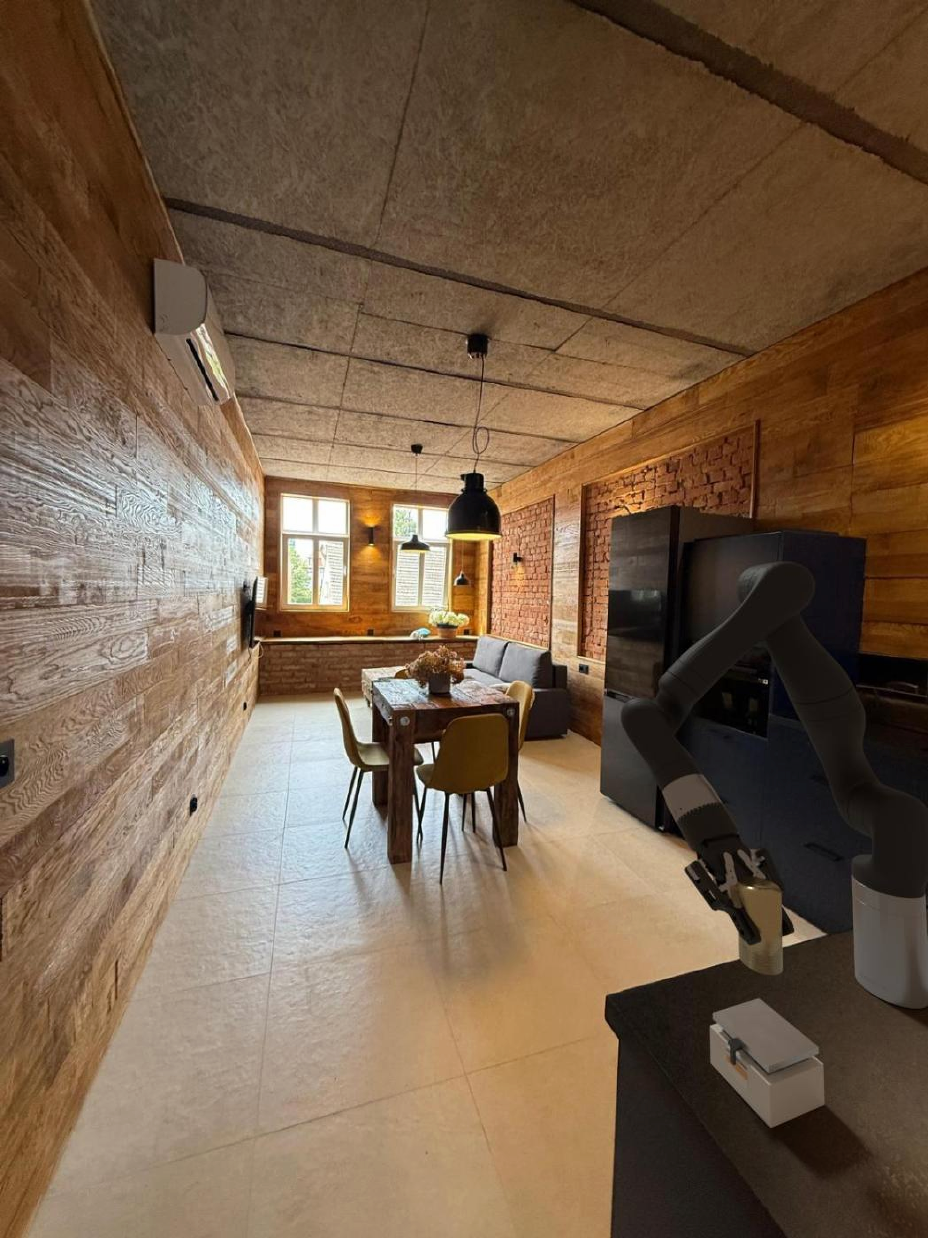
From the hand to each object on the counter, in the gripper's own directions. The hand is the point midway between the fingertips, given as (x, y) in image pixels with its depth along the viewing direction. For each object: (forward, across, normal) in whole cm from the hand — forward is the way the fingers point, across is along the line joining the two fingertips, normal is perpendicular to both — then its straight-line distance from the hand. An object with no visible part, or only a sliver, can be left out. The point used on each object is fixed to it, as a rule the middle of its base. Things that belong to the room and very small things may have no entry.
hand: (772, 938), depth 61 cm
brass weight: (+2, 0, +4) cm, 4 cm away
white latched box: (+13, 0, +15) cm, 20 cm away
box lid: (+11, -1, +13) cm, 17 cm away
